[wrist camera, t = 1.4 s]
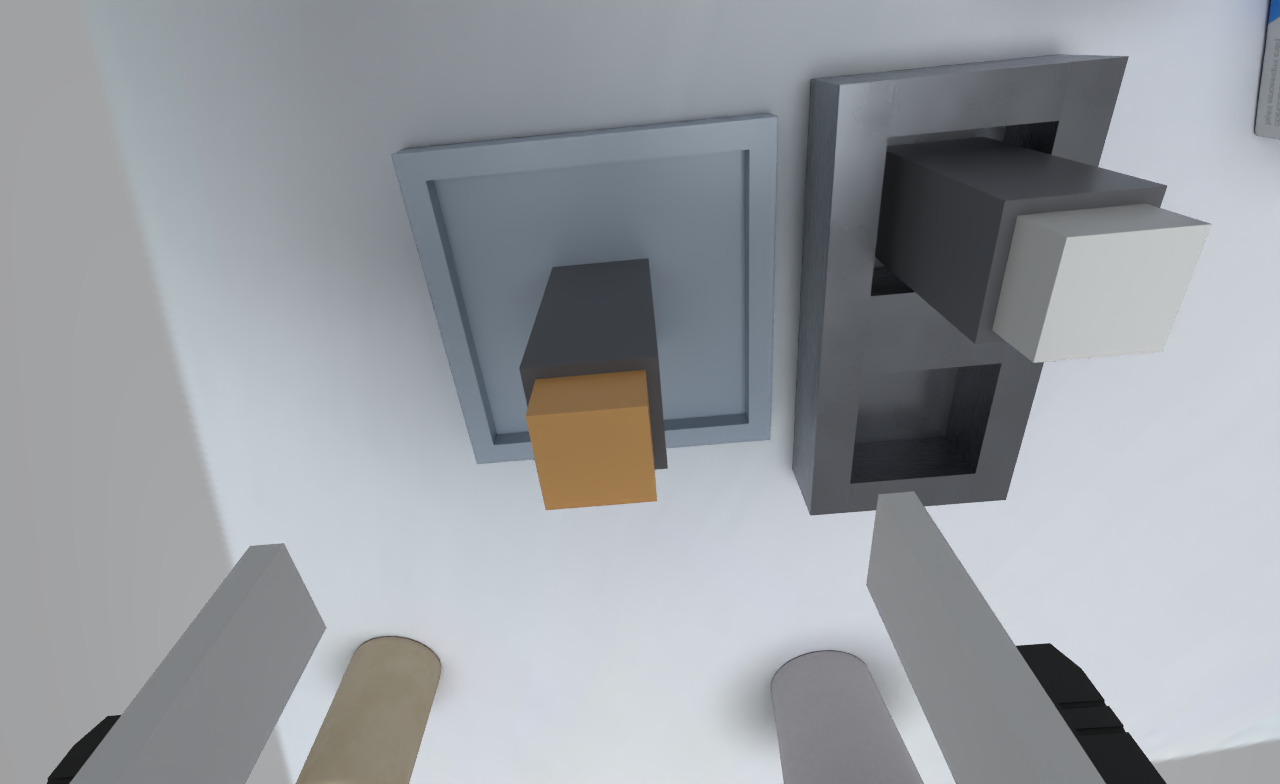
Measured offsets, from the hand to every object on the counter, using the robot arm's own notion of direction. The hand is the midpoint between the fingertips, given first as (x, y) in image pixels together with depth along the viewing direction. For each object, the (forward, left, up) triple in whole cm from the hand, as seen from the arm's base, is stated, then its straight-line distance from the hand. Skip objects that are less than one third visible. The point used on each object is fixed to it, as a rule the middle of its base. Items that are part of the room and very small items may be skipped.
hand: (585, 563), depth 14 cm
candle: (+23, -16, -15) cm, 32 cm away
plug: (0, 0, -15) cm, 15 cm away
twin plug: (-4, +13, -15) cm, 20 cm away
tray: (0, 0, -15) cm, 15 cm away
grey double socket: (+1, +13, -15) cm, 20 cm away
